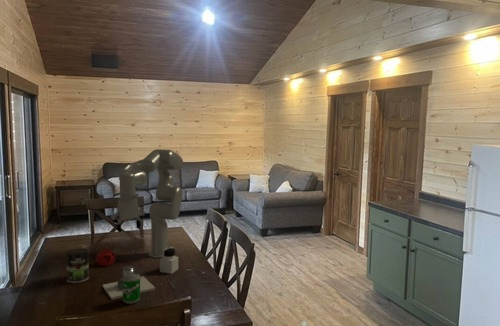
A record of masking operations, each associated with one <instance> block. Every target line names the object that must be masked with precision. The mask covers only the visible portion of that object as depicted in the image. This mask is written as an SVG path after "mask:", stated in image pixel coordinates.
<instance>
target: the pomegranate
mask: <svg viewBox="0 0 500 326" xmlns="http://www.w3.org/2000/svg"><path fill="white" fill-rule="evenodd" d="M98 252H99V253H97V255H96V258H95V260H96V263H97V264H98V265H99V266H102V267H108V266H111V265H113V264H114V263H115V260H116V256H115V253H114V251H112V250H111V248H110V249H109V248H108V247H105V248H104V249H102V250H100V251H98Z"/></svg>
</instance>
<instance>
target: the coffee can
mask: <svg viewBox="0 0 500 326" xmlns="http://www.w3.org/2000/svg"><path fill="white" fill-rule="evenodd" d="M65 256H66V258H65V259H66V282H67V283H70V284H79V283H83V282H86V281H88V280H89V279H90V276H89V275H90V273H89V272H90V270H89V266H90V265H89V249H86V248H74V249H70V250H68V251H66V252H65Z"/></svg>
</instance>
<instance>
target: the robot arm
mask: <svg viewBox="0 0 500 326" xmlns="http://www.w3.org/2000/svg"><path fill="white" fill-rule="evenodd" d="M183 166H184V161H183V158H182V156H180V155H179V154H178V153H177V152H175V151H174V150H171V149H162V148H161V149H160V148H159V149H154V150H152V151H151V152H150V153H149V154H148V155H146V156H145V157H144V158H142V159H140V160H137V161H134V162H132V163H129V164H127V165H126V166H124V167H123V168H122V169H121V170H120V171H119V175H118V180H119V200H118V201H117V207H116V212H115V213H114V214H112V215H110V219H111V220H112V222H113V223H115V224H116V230H117V232H119V233H121V232H122V225H121V223H122V222H123V221H129V220H135V219H136V221H135V223H136V225H135V227H136V228H137V229H138V230H140V229H141V224H142V223H141V222H142V220H143V219H144V217H145V214H146V211H144V210H142V209H140V208H139V202H138V198H137V197H139V193H137V192H136V186H142V185H144V184H145V183H146V182H147V181H148V175H147V174H149V173H152V172H154V171H155V170H156V171H157V172H158V183H157V186H156V187H157V188H156V192H155V198H156V200H158V201H159V202H158V201H157V202H154V203H151V205H150V206H149V211H148V212H149V216H150V226H151V227H150V228H151V229H150V230H151V232H150V235H151V238H150V240H151V242H150V245H151V246H150V248H151V251H149V252H148V256H149V257H151V258H154V259H161V258H163V250H164V249H166V248H173V249H175V250H176V246H171V245H170V246H169V245H168V237H169V236H168V235H169V234H168V232H169V231H168V228H169V227H168V226H169V225H168V222H167V221H166V220H172V221H175V220H177V219H178V217H179V215H180V211H181V205H182V200H183V189H182V187H181V186H179V185H173V182H174V176H173V174H172V173H171V171H179V170H181V169H182V168H183ZM161 201H162V202H161ZM163 201H164V202H163ZM169 202H170V203H169ZM116 218H117V219H116Z"/></svg>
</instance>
